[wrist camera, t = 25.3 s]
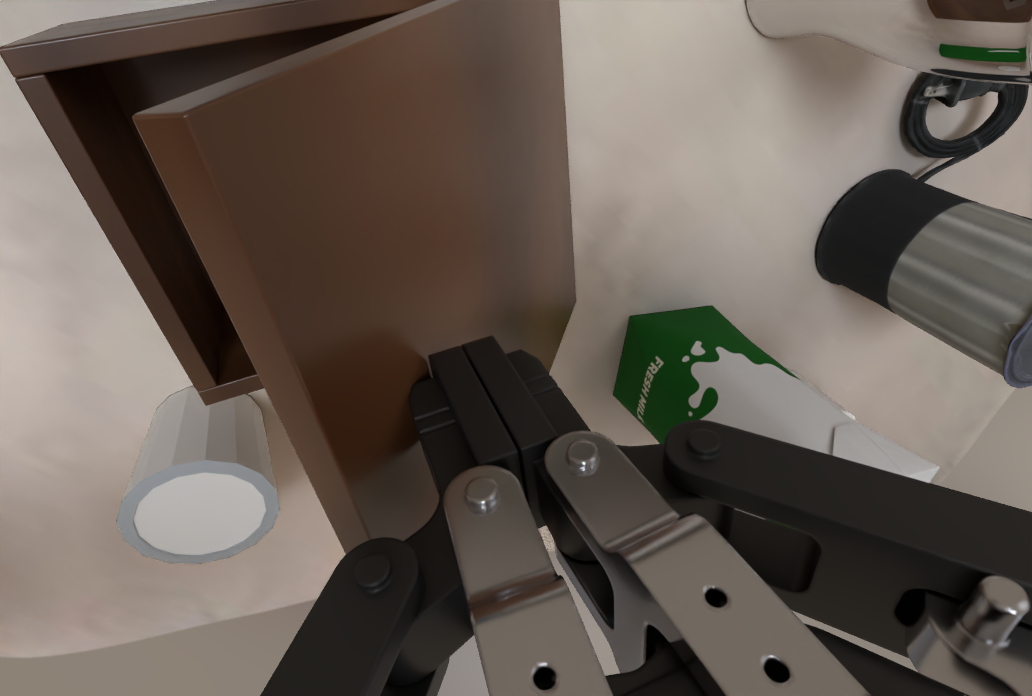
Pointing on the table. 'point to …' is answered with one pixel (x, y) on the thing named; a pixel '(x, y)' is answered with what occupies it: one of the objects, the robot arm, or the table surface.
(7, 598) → the table surface
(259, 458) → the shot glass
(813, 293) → the table surface
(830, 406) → the milk carton
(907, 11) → the beer glass
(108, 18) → the bin
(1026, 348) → the milk frother
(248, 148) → the bin lid
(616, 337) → the table surface
